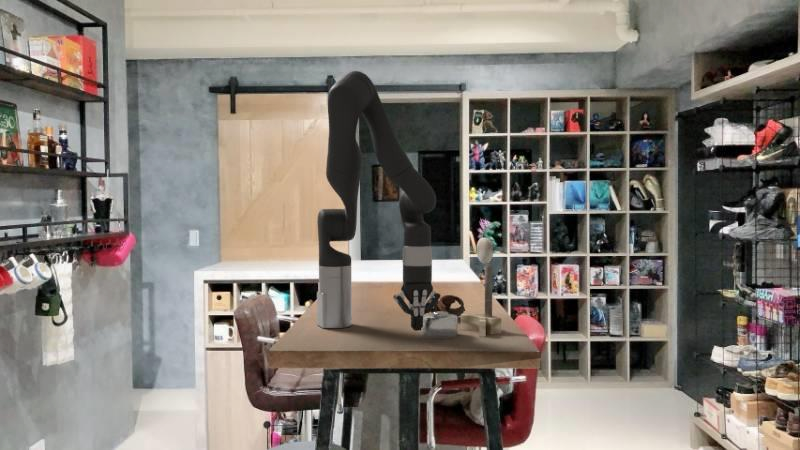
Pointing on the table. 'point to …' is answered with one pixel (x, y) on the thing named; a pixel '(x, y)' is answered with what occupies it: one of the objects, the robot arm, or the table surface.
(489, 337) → the table surface
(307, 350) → the table surface
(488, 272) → the wooden display stand
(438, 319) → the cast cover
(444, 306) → the pottery mug
